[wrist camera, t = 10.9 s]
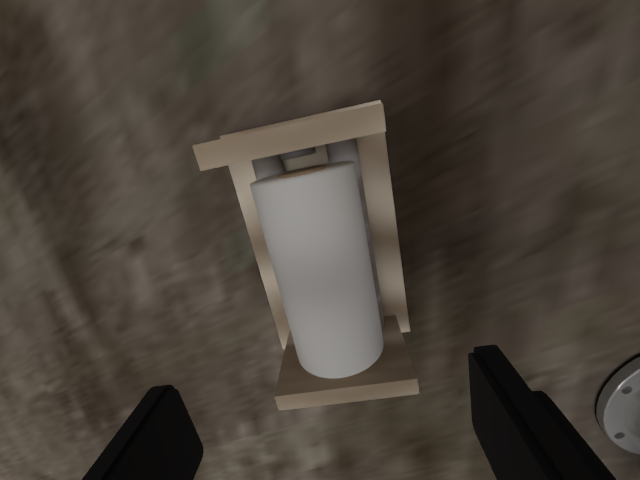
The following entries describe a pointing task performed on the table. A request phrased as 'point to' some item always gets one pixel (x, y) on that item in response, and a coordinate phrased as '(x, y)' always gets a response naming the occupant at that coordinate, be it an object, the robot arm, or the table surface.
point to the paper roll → (322, 266)
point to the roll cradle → (381, 230)
